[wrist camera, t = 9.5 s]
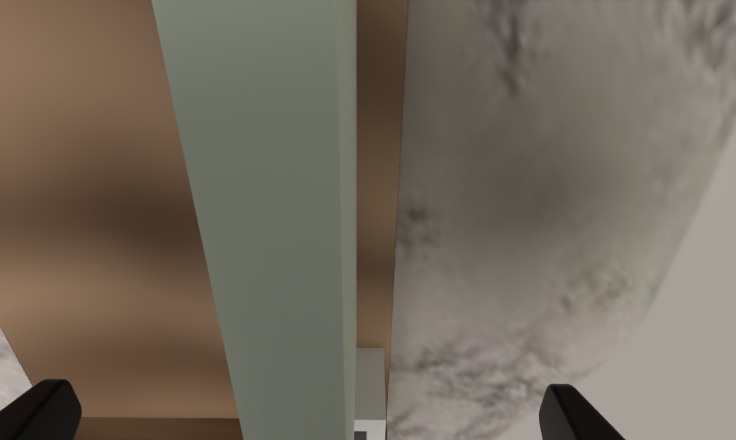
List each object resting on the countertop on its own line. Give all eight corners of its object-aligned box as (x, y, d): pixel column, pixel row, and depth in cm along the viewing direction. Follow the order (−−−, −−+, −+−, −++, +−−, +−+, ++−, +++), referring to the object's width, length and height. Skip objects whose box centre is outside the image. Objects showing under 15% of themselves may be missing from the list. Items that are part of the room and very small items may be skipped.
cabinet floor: (384, 410, 22) (388, 536, 17) (71, 407, 22) (-4, 532, 17) (412, -148, 11) (440, -184, 7) (-210, -157, 11) (-595, -199, 7)
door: (380, 409, 20) (386, 666, 13) (293, 408, 20) (254, 665, 13) (403, -111, 10) (466, -145, 4) (234, -114, 10) (-14, -151, 4)
